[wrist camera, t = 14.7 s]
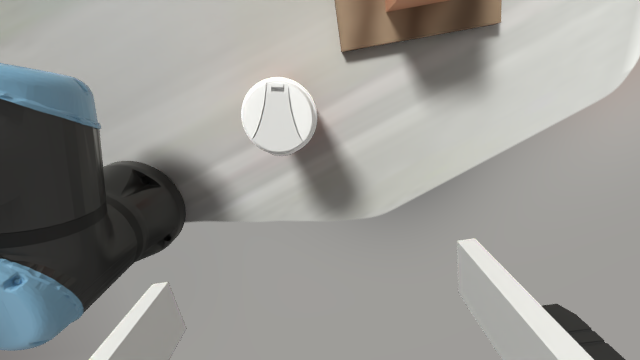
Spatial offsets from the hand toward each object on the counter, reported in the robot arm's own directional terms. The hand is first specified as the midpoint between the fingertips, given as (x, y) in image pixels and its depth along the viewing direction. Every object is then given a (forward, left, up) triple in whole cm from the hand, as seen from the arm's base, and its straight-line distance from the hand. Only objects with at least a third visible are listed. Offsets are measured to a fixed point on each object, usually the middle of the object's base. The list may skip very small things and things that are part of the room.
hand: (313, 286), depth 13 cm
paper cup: (-3, +6, -32) cm, 33 cm away
